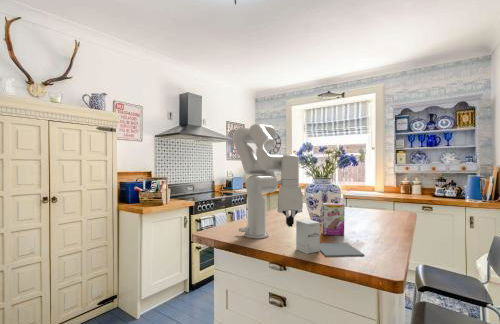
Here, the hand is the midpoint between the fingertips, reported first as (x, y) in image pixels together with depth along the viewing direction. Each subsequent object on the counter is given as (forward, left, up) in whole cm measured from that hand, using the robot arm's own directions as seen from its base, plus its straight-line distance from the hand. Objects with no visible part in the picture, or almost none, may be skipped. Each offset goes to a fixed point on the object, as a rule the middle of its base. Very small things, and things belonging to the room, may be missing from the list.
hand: (289, 225), depth 111 cm
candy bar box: (+29, +25, -11) cm, 40 cm away
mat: (+21, 0, -11) cm, 23 cm away
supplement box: (+8, 0, -11) cm, 13 cm away
